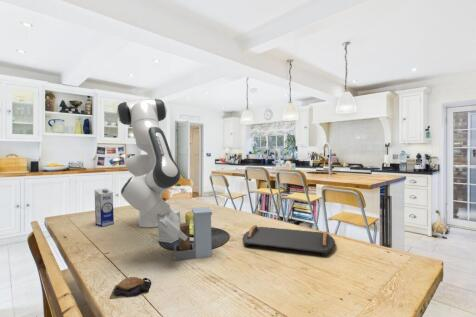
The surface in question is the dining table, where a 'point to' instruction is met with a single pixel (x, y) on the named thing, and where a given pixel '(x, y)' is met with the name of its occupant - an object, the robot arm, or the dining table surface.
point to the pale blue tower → (198, 236)
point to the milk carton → (104, 207)
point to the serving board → (289, 239)
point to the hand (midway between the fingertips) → (185, 235)
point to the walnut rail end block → (186, 244)
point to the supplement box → (163, 235)
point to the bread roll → (131, 287)
